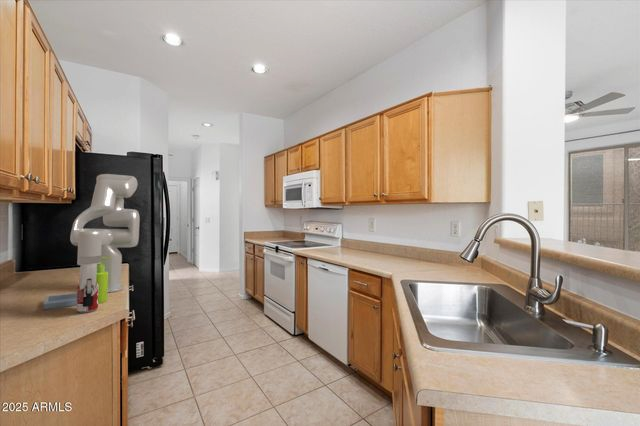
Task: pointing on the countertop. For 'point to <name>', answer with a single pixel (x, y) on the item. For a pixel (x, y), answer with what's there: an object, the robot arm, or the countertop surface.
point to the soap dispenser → (102, 281)
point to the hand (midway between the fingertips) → (87, 303)
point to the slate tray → (60, 301)
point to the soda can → (80, 300)
